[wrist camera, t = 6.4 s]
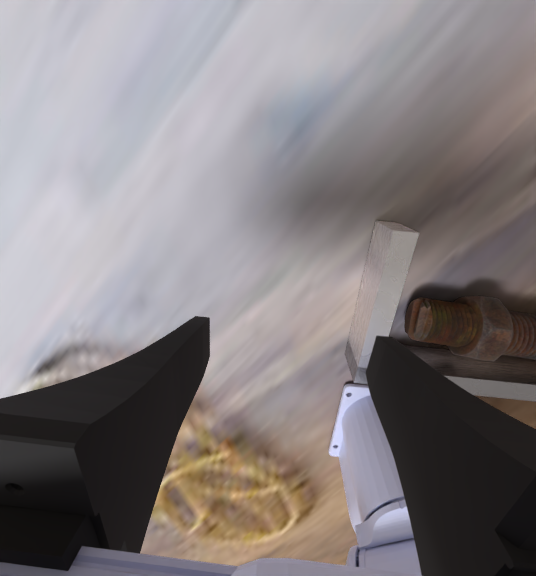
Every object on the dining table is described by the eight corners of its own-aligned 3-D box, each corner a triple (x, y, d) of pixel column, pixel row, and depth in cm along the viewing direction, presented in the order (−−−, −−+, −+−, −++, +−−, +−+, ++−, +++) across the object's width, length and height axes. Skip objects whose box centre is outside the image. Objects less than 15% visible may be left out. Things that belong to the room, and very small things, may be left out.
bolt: (397, 288, 23) (580, 316, 22) (390, 348, 22) (578, 378, 22) (438, 278, 17) (687, 315, 16) (431, 358, 17) (688, 400, 16)
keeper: (617, 381, 23) (671, 415, 20) (344, 354, 24) (353, 382, 20) (718, 249, 18) (811, 266, 15) (375, 220, 19) (393, 230, 16)
